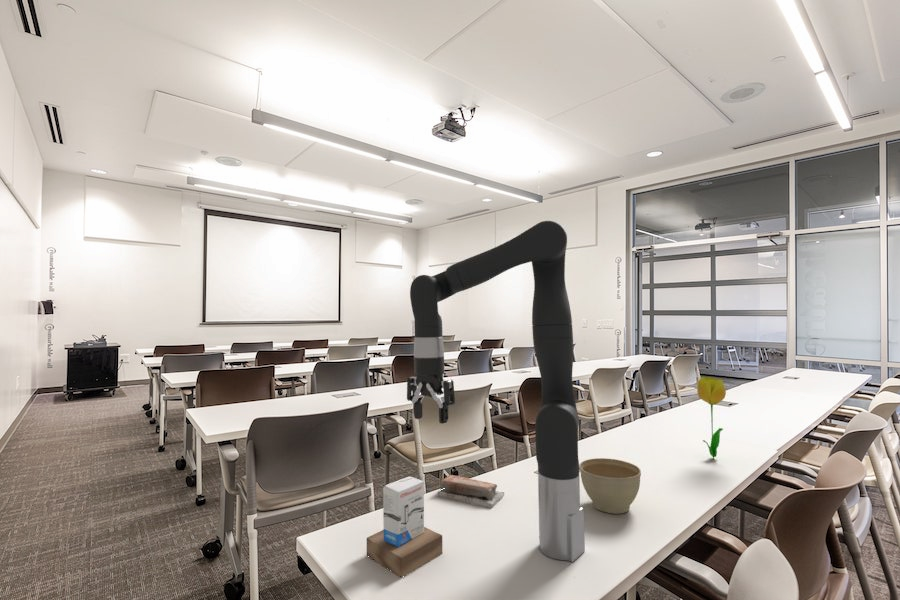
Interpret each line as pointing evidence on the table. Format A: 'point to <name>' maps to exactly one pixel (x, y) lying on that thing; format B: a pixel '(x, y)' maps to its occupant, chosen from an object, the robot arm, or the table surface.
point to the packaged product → (470, 491)
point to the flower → (712, 394)
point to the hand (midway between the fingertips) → (430, 420)
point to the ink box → (403, 510)
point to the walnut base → (405, 551)
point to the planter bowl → (610, 483)
